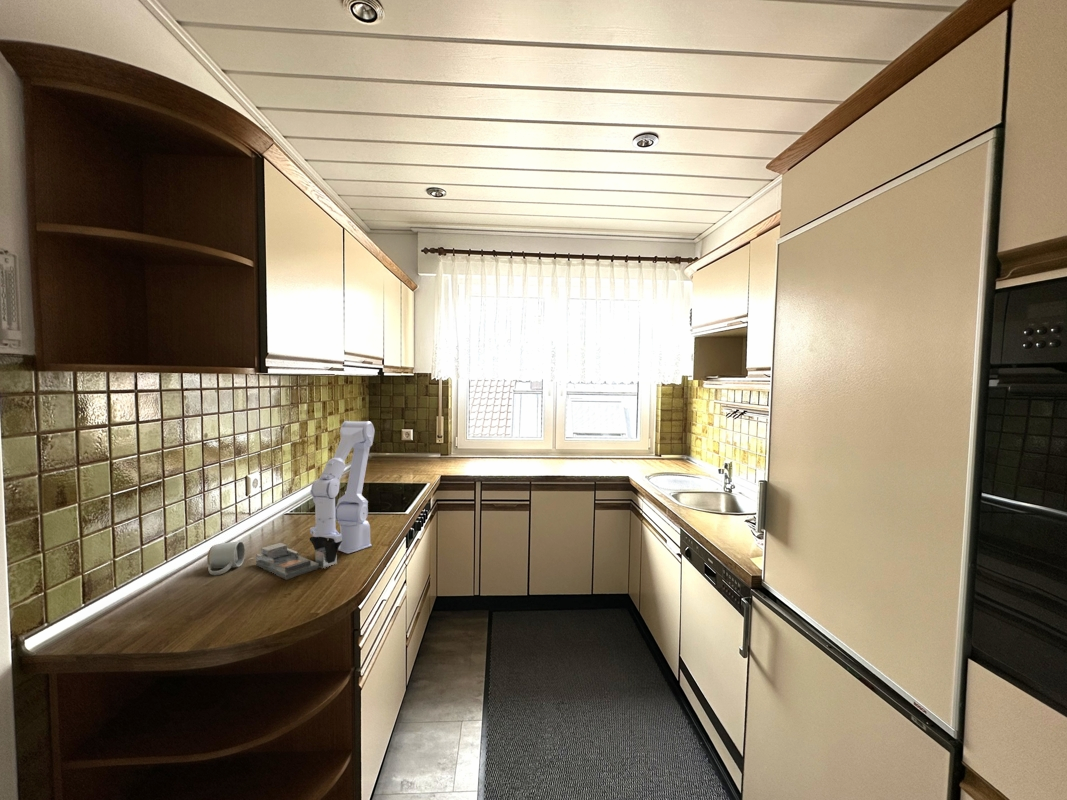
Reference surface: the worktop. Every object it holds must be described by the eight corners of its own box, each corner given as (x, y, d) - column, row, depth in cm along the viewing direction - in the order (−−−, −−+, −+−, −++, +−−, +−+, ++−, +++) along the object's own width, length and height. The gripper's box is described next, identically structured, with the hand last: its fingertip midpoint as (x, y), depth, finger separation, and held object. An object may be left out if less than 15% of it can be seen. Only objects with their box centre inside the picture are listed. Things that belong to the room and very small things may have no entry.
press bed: (286, 554, 154) (286, 546, 154) (318, 568, 143) (318, 558, 143) (254, 564, 146) (253, 555, 146) (286, 579, 135) (286, 569, 135)
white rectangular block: (328, 561, 149) (328, 545, 149) (336, 564, 146) (336, 548, 146) (315, 565, 145) (315, 549, 145) (323, 568, 143) (323, 552, 143)
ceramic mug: (217, 563, 147) (216, 539, 147) (245, 561, 149) (245, 537, 148) (200, 577, 137) (199, 552, 136) (231, 575, 138) (230, 550, 138)
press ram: (280, 551, 152) (280, 542, 152) (287, 554, 150) (286, 545, 150) (261, 557, 147) (261, 548, 147) (267, 560, 145) (267, 550, 145)
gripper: (300, 516, 146) (301, 559, 147) (326, 524, 138) (327, 569, 138) (321, 511, 152) (322, 552, 152) (347, 518, 144) (348, 562, 144)
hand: (326, 560), depth 146 cm, fingers open, 5 cm apart
